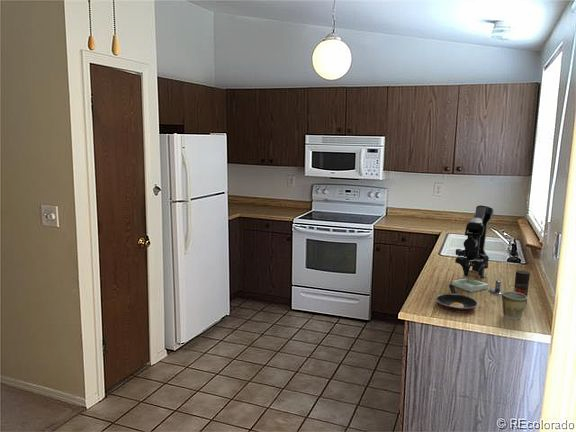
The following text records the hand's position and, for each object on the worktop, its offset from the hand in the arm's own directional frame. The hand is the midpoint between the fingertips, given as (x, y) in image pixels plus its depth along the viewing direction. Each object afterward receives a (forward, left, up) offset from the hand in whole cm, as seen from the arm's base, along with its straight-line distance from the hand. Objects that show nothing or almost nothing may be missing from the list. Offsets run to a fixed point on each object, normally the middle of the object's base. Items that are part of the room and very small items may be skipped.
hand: (470, 275), depth 246 cm
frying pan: (+24, +11, -7) cm, 27 cm away
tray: (0, 0, -6) cm, 7 cm away
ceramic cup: (+14, +36, -7) cm, 39 cm away
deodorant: (-4, +26, -7) cm, 27 cm away
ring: (0, 0, -1) cm, 1 cm away
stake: (-6, +12, -6) cm, 15 cm away
